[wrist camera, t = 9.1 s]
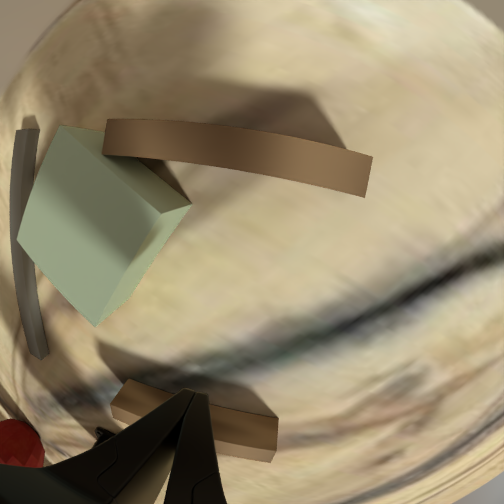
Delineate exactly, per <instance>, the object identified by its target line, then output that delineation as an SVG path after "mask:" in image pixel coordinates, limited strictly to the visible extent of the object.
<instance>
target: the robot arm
mask: <svg viewBox="0 0 504 504" xmlns="http://www.w3.org/2000/svg"><path fill="white" fill-rule="evenodd" d="M95 433H96V436H97V438H98V439H97V441H96V442H95V444H94V445H93V447H92V448H91V449H90V450H88V451H86V452H84V453H81V454H79V455H77V456H74V457H72V458H69V459H67V460H64V461H61V462H59V463H56V464H53V465H50V466H46V467H39V468H33V467H22V466H14V465H7V464H1V463H0V504H154V502H155V500H156V498H157V496H158V494H159V493H160V491H161V489H162V487H163V485H164V483H165V481H166V479H167V477H168V475H169V473H170V477H169V481H168V486H167V490H166V495H165V499H164V504H227V502H226V499H225V496H224V492H223V488H222V483H221V478H220V473H219V467H218V461H217V455H216V449H215V442H214V435H213V428H212V421H211V414H210V406H209V398H208V394H206V393H202V392H198V391H197V392H195V391H194V390H191V389H188V388H183V389H182V390H180V391H179V392H178V393H176V394H175V395H173V396H172V397H171V398H169V399H168V400H166V401H165V402H164V403H162V404H161V405H159V406H158V407H156V408H155V409H153V410H152V411H151V412H149V413H148V414H146V415H145V416H143V417H142V418H140V419H139V420H137V421H136V422H134V423H133V424H131V425H130V426H128V427H127V428H125V429H124V430H122V431H121V432H119V433H117V434H116V435H114V434H112V433H109V432H107V431H105V430H103V429H101V428H99V427H97V428H96V429H95ZM170 471H171V472H170Z"/></svg>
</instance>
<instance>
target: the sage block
mask: <svg viewBox="0 0 504 504" xmlns="http://www.w3.org/2000/svg"><path fill="white" fill-rule="evenodd" d="M104 136H105V133H104V132H101V131H96V130H90V129H84V128H78V127H71V126H64V125H60V126H59V128H58V130H57V132H56V134H55V136H54V138H53V140H52V142H51V145H50V147H49V149H48V151H47V153H46V156H45V158H44V160H43V162H42V165H41V167H40V170H39V172H38V175H37V177H36V180H35V183H34V185H33V188H32V191H31V194H30V196H29V199H28V202H27V205H26V209H25V212H24V215H23V218H22V222H21V225H20V229H19V233H18V237H17V241H18V242H19V244H20V245H21V246H22V248H23V249H24V250H25V252H26V253H27V254H28V255H29V257H30V258H31V259H32V260H33V262H34V263H35V264H36V265H37V266H38V268H39V269H40V270H41V271H42V272H43V274H44V275H45V276H46V277H47V278H48V279H49V281H50V282H51V283H52V284H53V285H54V286H55V287H56V288H57V289H58V291H59V292H60V293H61V294H62V295H63V296H64V297H65V298H66V299H67V300H68V301H69V302H70V303H71V304H72V305H73V306H74V307H75V308H76V309H77V310H78V311H79V312H80V313H81V314H82V315H83V316H84V317H85V318H86V319H87V320H88V321H89V322H90V323H91V324H92V325H93V326H94V327H96V326H97V325H99V324H100V323H101V322H102V321H103V320H104V319H106V318H107V317H108V316H109V315H110V314H111V313H113V312H114V311H115V310H116V309H117V308H119V307H120V306H121V305H122V304H123V303H125V302H126V301H127V300H128V299H129V298H130V297H131V295H132V294H133V292H134V290H135V289H136V287H137V285H138V284H139V282H140V281H141V279H142V278H143V276H144V274H145V273H146V271H147V270H148V268H149V267H150V265H151V264H152V262H153V260H154V259H155V257H156V256H157V254H158V253H159V251H160V250H161V248H162V247H163V245H164V244H165V243H166V241H167V240H168V238H169V237H170V235H171V234H172V232H173V231H174V229H175V228H176V227H177V225H178V224H179V222H180V221H181V219H182V218H183V217H184V215H185V214H186V212H187V211H188V210H189V208H190V207H191V206H192V203H190V202H189V201H188V200H187V199H185V198H184V197H183V196H182V195H181V194H179V193H178V192H177V191H176V190H174V189H173V188H172V187H171V186H170V185H168V184H167V183H166V182H165V181H163V180H162V179H161V178H160V177H158V176H157V175H156V174H155V173H154V172H152V171H151V170H150V169H149V168H147V167H146V166H145V165H144V164H142V163H141V162H140V161H139V160H138V159H136V158H135V157H132V156H119V155H105V154H102V148H103V141H104Z"/></svg>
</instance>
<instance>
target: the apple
mask: <svg viewBox="0 0 504 504" xmlns="http://www.w3.org/2000/svg"><path fill="white" fill-rule="evenodd" d="M44 455H45V451H44V448H43V446H42V443H41V441H40V438H39V437H38V435H37V433H36V432H35V431H34V430H33V429H32V428H31V427H30V426H29V425H28V424H26V423H25V422H23V421H19V420H16V419H7V420H4V421H1V422H0V463H1V464H7V465H14V466H22V467H33V468H39V467H43V462H44Z"/></svg>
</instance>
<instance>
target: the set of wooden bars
mask: <svg viewBox="0 0 504 504" xmlns="http://www.w3.org/2000/svg"><path fill="white" fill-rule="evenodd" d="M39 131H40V130H37V129H22V130H16V135H15V142H14V149H13V157H12V168H11V181H10V240H11V254H12V264H13V273H14V281H15V287H16V294H17V299H18V305H19V310H20V315H21V319H22V324H23V328H24V332H25V336H26V340H27V344H28V347H29V351H30V353H31V354H32V355H34V356H35V357H37V358H38V359H40V360H42V359H44V358H45V357H46V356H47V355H48V354H49V351H48V347H47V343H46V338H45V334H44V329H43V324H42V319H41V314H40V308H39V301H38V295H37V287H36V279H35V269H34V262H33V260H32V259H31V258H30V257H29V255H28V254H27V253H26V252H25V250H24V249H23V248H22V246H21V245H20V244H19V242H18V241H17V237H18V233H19V229H20V225H21V222H22V218H23V215H24V212H25V209H26V205H27V202H28V199H29V196H30V194H31V191H32V188H33V181H34V169H35V159H36V151H37V144H38V137H39ZM102 154H105V155H119V156H132V157H143V158H153V159H162V160H171V161H179V162H187V163H195V164H202V165H209V166H215V167H222V168H228V169H234V170H240V171H246V172H252V173H257V174H263V175H268V176H273V177H278V178H283V179H288V180H293V181H297V182H302V183H306V184H311V185H315V186H320V187H324V188H328V189H332V190H336V191H341V192H345V193H348V194H352V195H356V196H360V197H364V198H365V194H366V190H367V185H368V180H369V175H370V170H371V164H372V159H373V157H372V156H368V155H365V154H361V153H358V152H354V151H351V150H347V149H343V148H339V147H335V146H331V145H327V144H323V143H319V142H315V141H310V140H306V139H301V138H296V137H291V136H286V135H281V134H276V133H270V132H264V131H258V130H252V129H245V128H238V127H231V126H223V125H215V124H206V123H195V122H183V121H169V120H147V119H108V120H107V125H106V130H105V136H104V141H103V148H102ZM173 395H175V394H172V393H169V392H166V391H162V390H159V389H157V388H154V387H151V386H148V385H145V384H142V383H140V382H137V381H134V380H132V379H128V380H127V381H126V383H125V384H124V385H123V387H122V388H121V390H120V391H119V392H118V394H117V395H116V396H115V398H114V399H113V401H112V402H111V403H110V406H111V411H112V415H113V418H114V419H117V420H119V421H121V422H124V423H126V424H128V425H131V424H133V423H134V422H136V421H137V420H139V419H140V418H142V417H143V416H145V415H146V414H148V413H149V412H151V411H152V410H153V409H155V408H156V407H158V406H159V405H161V404H162V403H164V402H165V401H166V400H168V399H169V398H171V397H172V396H173ZM209 406H210V414H211V421H212V428H213V435H214V442H215V449H216V453H219V454H224V455H229V456H233V457H238V458H244V459H249V460H255V461H262V462H269V463H271V461H272V459H273V457H274V455H275V453H276V449H277V435H278V420H279V418H273V417H267V416H262V415H256V414H251V413H246V412H241V411H236V410H231V409H227V408H223V407H219V406H214V405H210V404H209Z"/></svg>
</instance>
